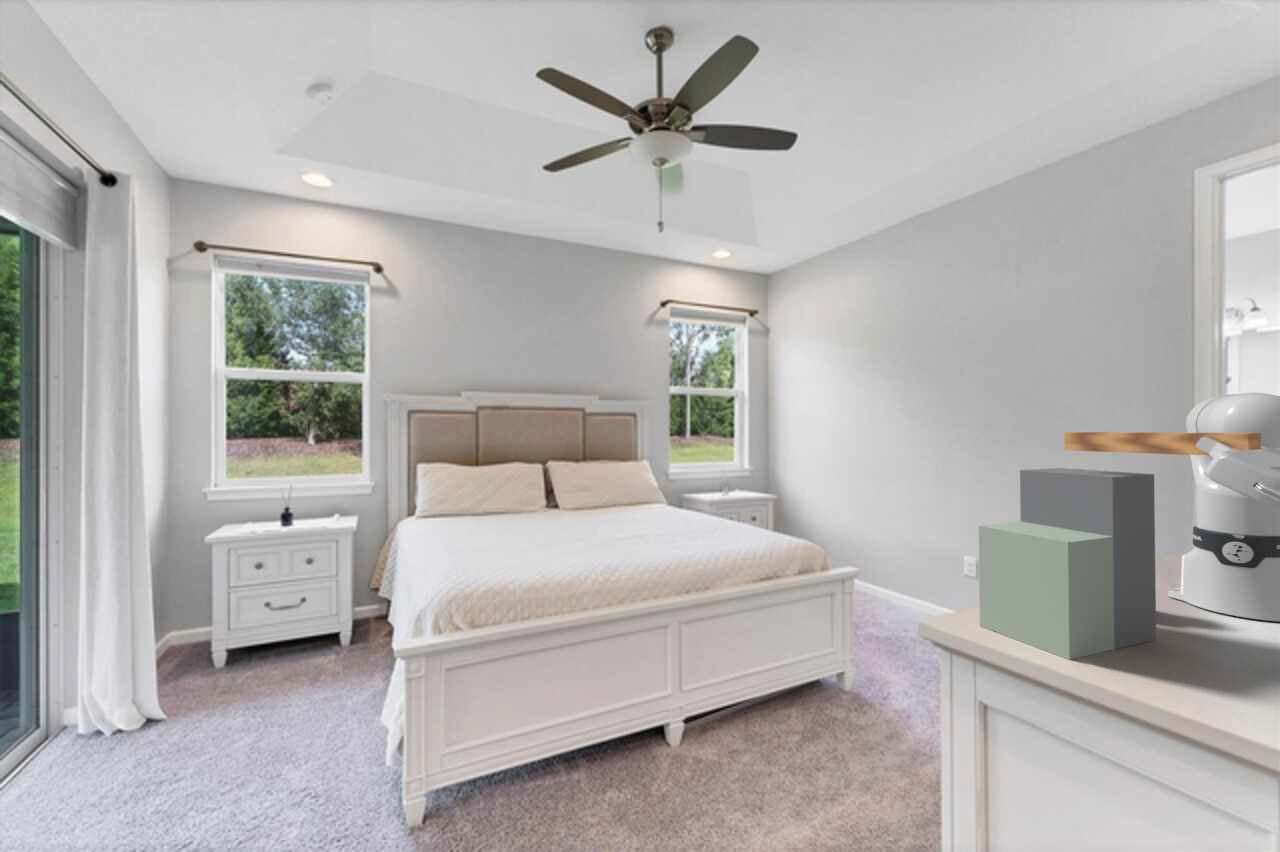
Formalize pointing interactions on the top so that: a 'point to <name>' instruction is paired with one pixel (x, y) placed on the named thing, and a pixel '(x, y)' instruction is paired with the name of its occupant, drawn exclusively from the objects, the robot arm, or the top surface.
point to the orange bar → (1155, 442)
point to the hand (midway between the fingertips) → (1210, 440)
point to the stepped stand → (1073, 563)
